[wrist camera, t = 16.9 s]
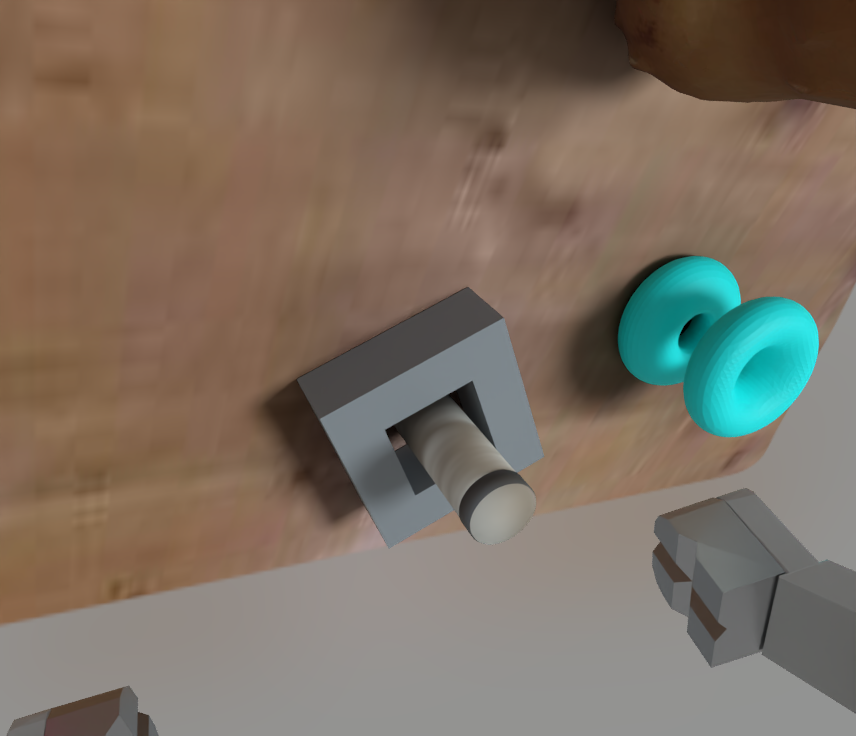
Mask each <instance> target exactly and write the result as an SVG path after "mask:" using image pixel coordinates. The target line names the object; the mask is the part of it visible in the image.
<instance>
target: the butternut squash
mask: <svg viewBox="0 0 856 736" xmlns="http://www.w3.org/2000/svg"><path fill="white" fill-rule="evenodd" d="M614 19H615V25H616V26H618V27H619V28H620V29H621V30H622V32H623V33H624V35H625V37H626V40H627V44H628V56H629V60H630V65H631V66H632V67H633V68H634V69H638V70H641V71H644V72H647V73H649V74H651V75H653V76H654V77H656V78H657V79H659V80H660V81H662V82H663V83H665V84H666V85H667V86H669V87H670V88H672V89H674V90H676V91H678V92H680V93H683V94H686V95H690V96H693V97H695V98H698V99H701V100H708V101H731V102H746V103H749V102H772V101H782V100H791V99H805V100H811V101H816V102H821V103H827V104H832V105H837V106H842V107H848V108H853V109H856V0H617V4H616V11H615V17H614Z"/></svg>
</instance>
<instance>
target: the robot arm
mask: <svg viewBox="0 0 856 736" xmlns="http://www.w3.org/2000/svg"><path fill="white" fill-rule="evenodd" d="M654 533H655V535H656V536H657V537H658V539H659V540H660V543H659V544H658V545H657V547H656V548H655V550H654V551H653V561H652V564H653V565H652V566H653V570H654V574H655V578H656V581H657V584H658V586H659V588H660V590H661V592H662V594H663V596H664V597H665V599H666V601H667V602H668V604H669V605H670V607H671V609H673V610H675V611H677V612H679V613H681V614H683V615H685V616H687V617H688V627H687V633H688V634H689V635H690V637H691V639H692V640H693V642H694V643H695V645H696V646H697V647H698V649H699V650H700V652H701V653H702V655H703V656H704V658H705V659H706V661H707V662H708V663H709V665H710V667H711V668H712V667H715V666H718V665H721V664H724V663H727V662H730V661H733V660H737V659H739V658H743V657H746V656H749V655H752V654H755V653H758V652H761V651H762V655H763V656H765V657H767V658H768V659H770V660H771V661H773V662H775V663H776V664H778V665H779V666H781V667H783V668H784V669H786V670H787V671H789V672H790V673H792V674H794V675H795V676H797V677H799V678H800V679H802V680H803V681H805V682H806V683H808V684H809V685H811V686H813V687H814V688H816V689H817V690H819V691H821V692H822V693H824V694H825V695H827V696H829V697H830V698H832V699H833V700H835V701H836V702H838V703H840V704H841V705H843V706H845V707H846V708H848V709H849V710H851V711H852V712H854V713H856V572H855V571H853V570H851V569H848V568H846V567H844V566H841V565H839V564H836V563H834V562H832V561H829V560H825V561H822V562H818V561H817V560H816V558H815V557H814V556H813V555H812V554H811V553H810V552H809V551H808V550H807V549H806V548H805V547H804V546H803V544H802V543H801V542H800V541H799V540H798V539H797V538H796V537H795V536H794V535H793V534H792V533H791V531H790V530H789V529H788V528H787V527H786V526H785V525H784V524H783V523H782V522H781V521H780V520H779V519H778V517H777V516H776V515H775V514H774V513H773V512H772V511H771V510H770V509H769V508H768V507H767V506H766V505H765V503H763V501H762V500H761V499H760V498H759V497H758V496H757V495H756V494H755V493H754V492H753V491H751V490H749V489H747V488H745V489H741V490H737V491H734V492H731V493H728V494H725V495H722V496H719V497H717V498H710V499H708V500H705V501H701V502H698V503H695V504H692V505H689V506H686V507H683V508H680V509H678V510H674V511H671V512H668V513H665V514H663V515H660V516H658V518H657V519H656V521H655V527H654ZM7 736H158V733H157V730H156V727H155V725H154V723H153V721H152V720H151V718H150V716H149V715H146V714H143V713H140V712H138V698H137V696H136V695H135V693H134V692H133V691H132V689H131V688H130V686H126V687H123V688H119V689H116V690H112V691H109V692H106V693H102V694H99V695H95V696H92V697H89V698H85V699H82V700H79V701H75V702H72V703H68V704H65V705H61V706H58V707H55V708H51V709H48V710H44V711H41V712H38V713H35V714H32V715H28V716H25V717H22V718H19V719H16V720H14V721H13V723H12V725H11V727H10V729H9V731H8V733H7Z"/></svg>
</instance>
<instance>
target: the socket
mask: <svg viewBox="0 0 856 736" xmlns="http://www.w3.org/2000/svg"><path fill="white" fill-rule="evenodd" d="M297 381H298V383H299V385H300V387H301V389H302V390H303V392H304V394H305V396H306V398H307V400H308V402H309V404H310V405H311V407H312V409H313V411H314V413H315V415H316V417H317V418H318V420H319V422H320V424H321V426H322V428H323V430H324V431H325V433H326V435H327V437H328V439H329V441H330V443H331V444H332V446H333V448H334V450H335V452H336V454H337V456H338V458H339V459H340V461H341V463H342V465H343V467H344V469H345V471H346V472H347V474H348V476H349V478H350V480H351V482H352V484H353V485H354V487H355V489H356V491H357V493H358V495H359V497H360V499H361V500H362V502H363V504H364V506H365V508H366V509H367V511H368V513H369V515H370V516H371V518H372V520H373V522H374V523H375V525H376V527H377V529H378V530H379V532H380V534H381V536H382V537H383V539H384V541H385V543H386V544H387V546H388V548H391V547H392V546H394V545H396V544H398V543H399V542H401V541H403V540H404V539H406V538H408V537H409V536H411V535H413V534H414V533H416V532H418V531H419V530H421V529H423V528H425V527H426V526H428V525H430V524H431V523H433V522H435V521H436V520H438V519H440V518H441V517H443V516H445V515H446V514H448V513H450V512H452V511H453V510H454V509H453V507H452V506H451V505H450V503H449V502H448V500H447V499H446V498H445V496H444V495H443V493H442V492H441V491H440V489H439V488H438V486H437V485H436V484H435V482H434V481H433V479H432V478H431V477H430V475H429V474H428V472H427V471H426V470H425V468H424V467H423V465H422V464H421V463H420V461H419V460H418V458H417V457H416V456H415V454H414V453H413V451H412V450H411V449H410V447H409V446H408V444H407V445H405V446H404V447H402V448H400V449H398V450H397V451H394V449H393V447H392V445H391V442H390V440H389V438H388V436H387V434H386V432H385V429H387V428H389V427H391V426H392V425H394V424H396V423H398V422H400V421H401V420H403V419H405V418H407V417H409V416H410V415H412V414H414V413H416V412H417V411H419V410H421V409H423V408H425V407H426V406H428V405H430V404H432V403H433V402H435V401H437V400H439V399H441V398H442V397H444V396H446V395H448V394H449V393H451V392H453V391H455V390H456V391H457V393H458V396H459V399H460V402H461V404H462V407H463V410H464V413H465V414H466V415H467V416H468V417H469V419H470V420H471V421H472V422H473V423H474V424H475V425H476V427H477V428H478V429H479V430H480V431H481V432H482V434H483V435H484V436H485V437H486V438H487V439H488V440H489V442H490V443H491V444H492V445H493V446H494V447H495V449H496V450H497V451H498V452H499V453H500V454H501V455H502V457H503V458H504V459H505V460H506V461H507V462H508V464H509V465H510V466H511V467H512V468H513V469H514V470H515V472H516V473H517V472H519V471H521V470H522V469H524V468H526V467H527V466H529V465H531V464H532V463H534V462H536V461H538V460H539V459H541V458H543V457H544V454H543V451H542V447H541V444H540V440H539V437H538V433H537V430H536V427H535V423H534V420H533V416H532V413H531V409H530V406H529V403H528V399H527V396H526V392H525V389H524V385H523V382H522V379H521V375H520V372H519V368H518V365H517V361H516V358H515V354H514V351H513V348H512V344H511V341H510V337H509V334H508V330H507V327H506V324H505V320H504V318H503V317H502V316H501V315H500V314H499V313H498V312H497V311H495V310H494V309H493V308H492V307H491V306H490V305H488V304H487V303H486V302H485V301H484V300H483V299H482V298H480V297H479V296H478V295H477V294H476V293H475V292H473V291H472V290H471V289H470V288H469V287H467V288H465V289H463V290H462V291H460V292H458V293H456V294H454V295H452V296H450V297H449V298H447V299H445V300H443V301H441V302H439V303H437V304H436V305H434V306H432V307H430V308H428V309H426V310H424V311H422V312H421V313H419V314H417V315H415V316H413V317H411V318H409V319H408V320H406V321H404V322H402V323H400V324H398V325H396V326H395V327H393V328H391V329H389V330H387V331H385V332H383V333H382V334H380V335H378V336H376V337H374V338H372V339H370V340H368V341H367V342H365V343H363V344H361V345H359V346H357V347H355V348H354V349H352V350H350V351H348V352H346V353H344V354H342V355H341V356H339V357H337V358H335V359H333V360H331V361H329V362H328V363H326V364H324V365H322V366H320V367H318V368H316V369H314V370H313V371H311V372H309V373H307V374H305V375H303V376H301V377H300V378H298V379H297Z"/></svg>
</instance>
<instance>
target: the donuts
mask: <svg viewBox="0 0 856 736" xmlns="http://www.w3.org/2000/svg"><path fill="white" fill-rule="evenodd" d="M691 318H693V319H692V321H691V323H690V325H689V326H688V328H687V329H686V330H685V331H684V333H683V334H682V335H681V336H679V335H680V333H681V331H682V329H683V327H684V326H685V324H686V323H687V322H688V321H689V320H690V319H691ZM618 347H619V352H620V356H621V359H622V361H623V363H624V365H625V366H626V368H627V369H628V370H629V372H630V373H631V374H633V375H634V376H635V377H636V378H638V379H639V380H641V381H644V382H646V383H649V384H653V385H672V384H677V383H681V382H684V385H683V392H684V400H685V405H686V408H687V410H688V412H689V414H690V416H691V418H692V419H693V420H694V422H695V423H696V424H697V425H698V426H699V427H701V428H702V429H703V430H705V431H706V432H708V433H711V434H713V435H716V436H721V437H738V436H743V435H746V434H750V433H753V432H755V431H757V430H759V429H761V428H763V427H765V426H767V425H768V424H770V423H771V422H773V421H774V420H775V419H777V418H778V417H779V416H780V415H781V414H782V413H783V412H784V411H785V410H786V409H788V408H789V407H790V405H791V404H792V403H793V402H794V401H795V399H796V398H797V397H798V396H799V394H800V393H801V391H802V390H803V388H804V387H805V385H806V383H807V382H808V380H809V378H810V376H811V374H812V371H813V369H814V366H815V363H816V359H817V355H818V348H819V339H818V330H817V327H816V324H815V322H814V320H813V318H812V316H811V315H810V313H809V312H808V311H807V310H806V309H805V308H804V307H803V306H801V305H800V304H798V303H796V302H795V301H793V300H790V299H786V298H782V297H762V298H758V299H754V300H750V301H747V302H745V303H743V304H741V298H740V292H739V287H738V284H737V282H736V280H735V278H734V276H733V274H732V273H731V272H730V271H729V270H728V269H727V268H726V267H725V266H724V265H723V264H722V263H720V262H718V261H716V260H714V259H711V258H708V257H702V256H689V257H684V258H679V259H676V260H674V261H671V262H669V263H667V264H665V265H663V266H662V267H660V268H659V269H657V270H656V271H655V272H653V273H652V274H651V275H650V276H649V277H647V278H646V279H645V280H644V281H643V282H642V283H641V284H640V286H639V287H638V288H637V290H636V291H635V292H634V293H633V295H632V297H631V298H630V300H629V302H628V303H627V305H626V307H625V309H624V312H623V315H622V318H621V321H620V325H619V331H618Z"/></svg>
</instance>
